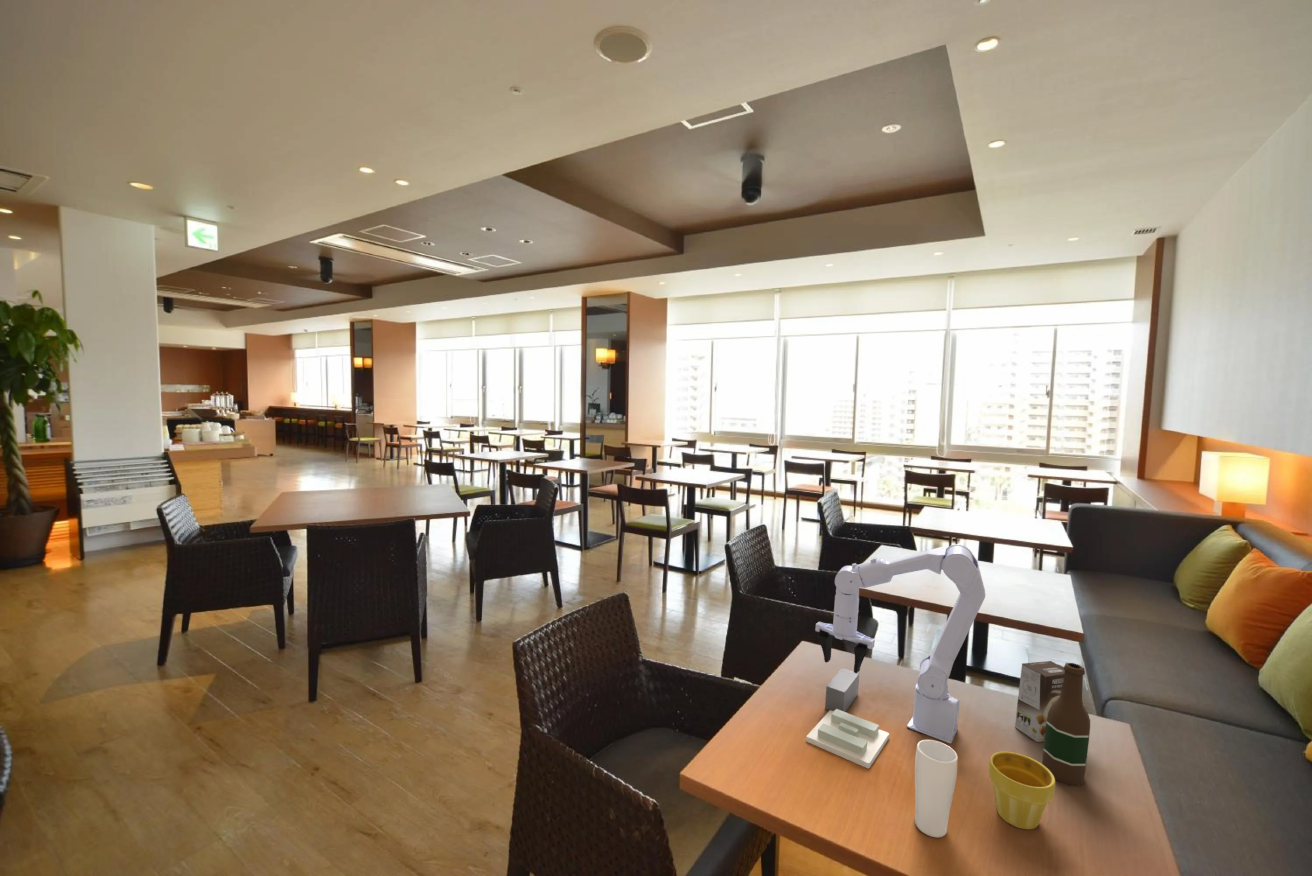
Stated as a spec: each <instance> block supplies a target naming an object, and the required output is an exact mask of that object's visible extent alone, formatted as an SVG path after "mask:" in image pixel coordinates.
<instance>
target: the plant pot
mask: <svg viewBox="0 0 1312 876" xmlns="http://www.w3.org/2000/svg"><path fill="white" fill-rule="evenodd" d="M988 763H989V764H988V777H989V780H990V782H991V783H992V785H993V786H992V787H993V791H994V799H995V806H996V811H997V813H998V815H999V816H1000V818H1001V819H1002V820H1003V821H1005V822H1006V823H1008V824H1009V825H1012V826H1013V827H1016V828H1019V829H1021V830H1033V829H1036V828H1037V827H1038V826H1039V825H1040V822H1041V820H1042V816H1043V814H1044V812H1045V810H1046V808H1047V804H1049V803H1050V802H1052V800H1054V795H1055V789H1056V780H1055V778H1054V776H1053V774H1052V773H1051V772H1050V770H1049V769H1047V768H1046V767H1045V766H1044V765H1042V762H1039V761H1038V760H1036V759H1034V758H1031V757H1029V756H1027V755H1025V754H1023V753H1022V754H1021V753H1017V752H1012V751H998V752H995V753H993V754H992V755H991V756H990V758H989V762H988Z"/></svg>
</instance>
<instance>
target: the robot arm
mask: <svg viewBox="0 0 1312 876" xmlns="http://www.w3.org/2000/svg"><path fill="white" fill-rule="evenodd" d="M923 570H928V571H931V572H934V573H935V574H938V575H941V574H942V571H943V573H944V574H945V576H946V577H947V578H948V579H949V580H950V581H951V582H952V583H954V584H955V586H956V588H957V590H958V591H959V595H958V597H957V599H956V601H955V603H954V605H953V608H952V609H951V611H950V613H949V615H948V618H947V620H946V622H945V625H944V626H943V629H942V631H941V633H940V635H939V637H938V639H937V641H936V643H935V645H934V647H933V648H932V650H931V651H930V653H929V655H928V656H926V657H925V658H923V659H922V660H921V662H920V663H919V675H918V678H917V683H916V684H915V688H914V699H913V701H914V702H913V713H912V717H911V719H910V720H909V722H908V723H907V728H909V729H910V730H913V731H916V732H919V733H922V734H924V735H926V736H929V737H931V738H935V739H937V740H940V741H941V742H945V743H947V744H952V742H953V740H954V738H955V735H956V733H957V731H958V729H959V714H960V700H959V699H957V698H956V697H954V696H952V695H951V694H950V691H949V689H948V688H949V687H948V679H949V677H950V675H951V671H952V668H953V665H954V662H955V660H956V658H957V657H958V654H959V652H960V650H961V648H962V646H963V644H964V642H965V640H966V637H967V635H968V634H969V631H970V629H971V628H972V626H973V623H974V622H975V619H976V617H977V614H978V613H979V611H980V609H981V606H982V605H983V603H984V601H985V598H986V589H985V586H984V582H983V577H982V575H981V574H982V573H981V571H980V566H979V561H978V560H977V558H976V557H975V555H974V554H973V552H972V551H971V549H970V548H968V547H967V546H965V545H962V544H950V546H948V547H947V546H939V547H935V548H933V549H930V550H929V549H928V550H925V551H922V552H919V553H916V554H912V555H909V556H906V557H905V556H904V557H902V558H899V559H895V560H891V561H888V560H886V559H884V558H878V559H877V557H872V558H871V559H870V561H867V562H863V563H860V564H857V563H851V565H844V566H843V567H841V569H839V570H838V572H837V574H836V575H835V578H834V585H835V588H836V589H835V595H834V608H833V618H832V619H833V622H832V623H825V622H822V621H818V622H817V623H815V632H818V634H817V640H818V641H819V644H820V647H821V650H822V653H823V659H824V662H825V663H829V662H830V661H831V658H832V645H833V639H834V638H835V639H838V640H841V641H842V640H846V641H849V642H852V643H855V644H856V645H855V646H854V648H853V651H854V663H853V664H854V665H853V671H854V673H859V672H860V670H861V666H862V664H863V661H864V659H865V658H866V655H867V653H868V652H869V650H873V648H875V643H876V640H875V638H872V637H870V636H868V635H865V634H863V633H861V632H859V631H858V630H857V629H858V620H859V619H858V616H859V605H860V588H863V589H866V588H870V587H875V586H878V585H882V584H887V583H890V582H891V581H892V579H893V577H894V576H899V575H903V574H904V575H905V574H909V573H914V572H918V571H923Z"/></svg>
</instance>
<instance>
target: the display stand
mask: <svg viewBox="0 0 1312 876" xmlns="http://www.w3.org/2000/svg"><path fill="white" fill-rule="evenodd" d="M879 728H880V725H879V724H877V723H874V722H872V721H869V720H867V719H863V718H861V717H858V716H856V715H854V714H851V713H848V712H844V711H841V710H838V709H836V710H835V711H831V710H828V711H827V713H826V714H825V715H824V716H823V717H822V718H821V720H819V722H818V723H817V724H816V725H815V726H814V727H813V728H812V729H811V731H810V732H809V733H808V734H807V735H806V738H805V742H806V743H809V744H810V745H813V746H816V747H818V748H820V749H823V750H825V751H827V752H829V753H831V754H833V755H836V756H838V757H841V758H843V759H845V760H848V761H849V762H852V763H854V764H857V765H859V766H861V767H864V768H866V769H868V770H869V769H870V768H871V767H872V765H873V764H874V762H875V760H876V759H877V757H878V756H879V754H880V753H881V752H882V750H883V748H884V747H885V745H886V743H887V742H888V741H889V739H890V733H889V732H887V731H885V730H882V729H879Z"/></svg>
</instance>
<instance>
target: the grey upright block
mask: <svg viewBox="0 0 1312 876" xmlns="http://www.w3.org/2000/svg"><path fill="white" fill-rule="evenodd" d="M859 681H860V673H859V672H858V673H854V670H850V669H847V668H845V667H841V669H840V670H839V671H838V672H837V673H836V674H835V675H834V677H832V679H831V680H830V681H829V683H828V684H827V685H826V688H825V689H826V691H825V702H824V709H825V710H828V711H830V710H831V711H835V710H836V709H838V710H841V711H844V712H846V711H847V710H848V709H849V707H850V706H851V705H852V704H853V702H854V701H855V699H856V698H857V696H858V695H859V683H860V682H859ZM846 713H847V712H846Z"/></svg>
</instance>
